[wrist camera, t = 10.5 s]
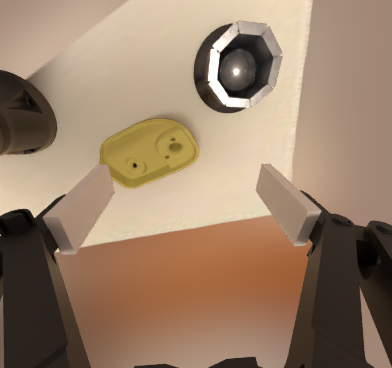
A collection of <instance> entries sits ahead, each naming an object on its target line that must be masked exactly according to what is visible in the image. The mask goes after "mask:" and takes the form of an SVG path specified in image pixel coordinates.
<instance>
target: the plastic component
mask: <svg viewBox="0 0 392 368" xmlns="http://www.w3.org/2000/svg"><path fill="white" fill-rule="evenodd" d="M166 156H169V157H166ZM198 156H199V148H198V146H197V144H196V142H195V140H194V139H193V137H192V135H191V134H190V132H189V131H188V130H187V128H186V127H185V126H183V125H182V124H180V123H178V122H176V121H173V120H169V119H151V120H146V121H143V122H140V123H138V124H135V125H133V126H132V127H130V128H128V129H126V130H124V131H122V132H120V133H118V134H116V135H114V136H112V137H110V138H108V139H107V140H106V141H105V142H104V143H103V145H102V146H101V149H100V164H99V165H108V167H109V171H110V176H111V179H113V180H114V181H116V182H117V183H119V184H120V185H122V186H123V187H126V188H137V187H140V186H142V185H145V184H147V183H150V182H152V181H155V180H157V179H160V178H162V177H165V176H167V175H170V174H172V173H175V172H177V171H179V170H182V169H184V168H186V167H188V166H190V165H191V164H193V163H194V162H195V161H196V160H197V158H198ZM134 163H136V164H137V167H136V168H135V167H134Z"/></svg>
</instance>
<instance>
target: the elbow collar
mask: <svg viewBox="0 0 392 368" xmlns="http://www.w3.org/2000/svg"><path fill="white" fill-rule="evenodd" d="M266 25H267V24H264V23H255V22H246V21H238V22H237V23H236V22H235V23H234V24H233V25H232V26H231V27H230V28H229V29H228V30H227V31H226V32H225V33H224V34H223V35H222V36H221V37H220V38H219V40H218V41H217V42H216V43H215V44H214V45H213V46H212V48H211V49H210V51H209V53H208V55H207V57H206V59H205V70H204V83H205V84H204V85H205V87H206V88H207V89H208V91H209V92H210V94H211V95H212V96H213V98H214V99H215V100H216V101H217V102H219V103H221V104H223V105H225V106H230V107H243V108H250V107H253V106H254V105H255V104H256V103H258V102H259V101H260V100H261V99H262V98H264V97H265V96H266V95H267V94H268V93H270V92H271V91H272V90H273V88H272V87H275V85H276V81H277V77H278V73H279V69H280V65H281V61H282V57H283V56H279V55H280V54H282V51H281V49H280V47H279V45H278V43H277V41H276V39H275V37H274V34H273V32H272V30H271V28H270V26H268V27H267V28H266ZM225 47H230V48H240V49H244V50H246V51H248V52H249V53H250V54H251V55H252V56H253V58H254V61H255V74H254V77H253V79H252V81H251V82H250V84H249V85H248V86H247V87H246V88H245V89H244V90H243V91H241V92H240V93H239V94H238V95H237V96H236V97H233V96H228V95H227V94H226V92H225V91H224V89H223V88H222V86H221V85H220V83H219V82H218V81H217V72H218V63H219V54H220V52H221V51H222V50H223V49H224V48H225Z"/></svg>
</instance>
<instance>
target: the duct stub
mask: <svg viewBox="0 0 392 368" xmlns="http://www.w3.org/2000/svg"><path fill="white" fill-rule="evenodd" d="M232 25H233V24H228V25H224V26H222V27H220V28H218V29H216V30H215V31H213V32H212V33H211V34H210V35H209V36H208V37H207V38H206V39H205V41H204V42H203V43H202V45H201V47H200V49H199V51H198V53H197V56H196V60H195V65H194V81H195V85H196V89H197V91H198V94H199V95H200V97H201V99H202V100H203V101H204V102H205V103H206V104H207V105H208V106H209V107H210V108H212V109H213V110H216V111H218V112H222V113H234V112H238V111H241V110H243V109H245V108H243V107H230V106H225V105H223V104H221V103H219V102H217V101H216V100H215V99H214V98H213V96H212V95H211V94H210V92H209V91H208V89H207V88H206V87H205V85H204V84H205V83H204V70H205V59H206V57H207V55H208V53H209V51H210V49H211V48H212V46H213V45H214V44H215V43H216V42H217V41H218V40H219V38H220V37H221V36H222V35H223V34H224V33H225V32H226V31H227V30H228V29H229V28H230V27H231V26H232ZM254 74H255V61H254V58H253V56H252V55H251V54H250V53H249V52H248V51H246V50H244V49H240V48H230V47H225V48H224V49H223V50H222V51H221V52H220V54H219V63H218V72H217V81H218V82H219V83H220V85H221V86H222V88H223V89H224V91H225V92H226V94H227V95H228V96H233V97H236V96H237V95H238V94H239V93H240V92H241V91H243V90H244V89H245V88H246V87H247V86H248V85H249V84H250V82H251V81H252V79H253V77H254Z"/></svg>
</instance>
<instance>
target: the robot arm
mask: <svg viewBox="0 0 392 368" xmlns="http://www.w3.org/2000/svg"><path fill="white" fill-rule="evenodd" d="M56 129H57V127H56V120H55V116H54V113H53V111H52V109H51V107H50V105H49V104H48V102H47V101H46V99H45V98H44V97H43V95H42V94H41V93H40V92H39V91H38V90H37V89H36V88H35V87H34V86H33V85H31V84H30V83H29V82H27V81H26V80H24V79H23V78H21V77H19V76H17V75H15V74H13V73H10V72H7V71H2V70H0V155H18V154H31V153H35V152H38V151H40V150H42V149H45V148H46V147H48V146H49V145H50V144H51V143H52V142H53V140H54V138H55V136H56ZM256 192H257V193H258V195H259V196H260V198H261V199H262V200H263V202H264V203H265V205H266V206H267V208H268V209H269V211H270V212H271V214H272V215H273V216H274V218H275V219H276V221H277V222H278V224H279V225H280V227H281V228H282V230H283V231H284V233H285V234H286V235H287V237H288V238H289V240H290V241H291V243H292V244H293V246H305V245H306V243H307V241H308V239H310V240H311V242H312V243H313V244H312V246H311V248H310V250H309V252H308V254H307V256H308V257H309V258H308V263H307V268H306V273H305V278H304V282H303V287H302V292H301V297H300V301H299V306H298V311H297V315H296V320H295V326H294V330H293V335H292V339H291V344H290V349H289V354H288V358H287V361H286V364H285V367H284V368H374V367H373V366H371V365H370V364H368V363H367V361H366V359H365V352H364V339H363V327H362V313H361V300H360V288H361V291H362V293H363V296H364V298H365V301H366V303H367V306H368V308H369V310H370V313H371V316H372V318H373V321H374V323H375V326H376V328H377V331H378V333H379V336H380V338H381V341H382V343H383V346H384V348H385V351H386V353H387V356H388V358H389V361H390V363H391V366H392V226H391V225H389V224H387V223H384V222H380V221H370V222H369V223H368V225H367V227H363V226H358V225H354V223H353V222H352V221H351V220H349V219H347V218H346V217H343V216H341V215H337V214H330V213H329V212H328V211H327V210H326V209H325V208H323V207H322V206H321V205H320V204H319V203H317V201H315V200H314V199H313V198H312V197H311V196H310V195H309V194H307V193H305V192H303V191H301V190H298V189H297V188H296V187H295V186H294V185H293V184H292V183H291V182H289V181H288V180H287V179H286V178H285V177H284V176H283V175H282V174H281V173H280V172H278V171H277V170H276V169H275V168H274V167H273V166H272V165H271V164H262V165H261V169H260V174H259V178H258V183H257V187H256ZM114 193H115V192H114V188H113V184H112V180H111V176H110V171H109V167H108V165H97V166H96V167H95V168H94V169H93V170H92V171H91V172H90V173H89V174H88V175H87V176H86V177H85V178H84V179H83V180H81V181H80V182H79V183H78V184H77V185H76V186H75V187H74V188H73V189H72V190H71V191H70V192H69V193H68V194H64V195H62V196H61V197H59V198H57V199H56V200H54V201H53V202H52V203H51V205H49V206H48V207H47V208H46V209H44V210H43V211H42V212H41V213H40V214H39V215H38V216H37V217H36V218H34V217H33V215H32V213H31V212H30V211H29V210H28V209H18V210H14V211H10V212H8V213H5V214H3V215H1V216H0V234H1V236H0V300H1V297H2V294H3V312H4V313H3V315H4V368H91V367H90V364H89V360H88V357H87V354H86V351H85V348H84V344H83V342H82V338H81V335H80V332H79V329H78V325H77V322H76V319H75V316H74V313H73V310H72V307H71V303H70V301H69V297H68V294H67V291H66V288H65V285H64V281H63V278H62V275H61V272H60V269H59V266H58V262H57V259H56V257H55V255H54V252H55V251H56V250H57V248H59V250H60V252H61V254H62V255H66V254H76V253H77V251H78V250H79V248H80V247H81V245H82V244H83V242H84V240H85V239H86V237H87V236H88V234H89V232H90V231H91V229H92V228H93V226H94V225H95V223H96V221H97V220H98V218H99V217H100V215H101V214H102V212H103V210H104V209H105V207H106V206H107V204H108V202H109V201H110V199H111V198H112V196H113V195H114ZM359 286H360V288H359ZM134 368H177V367H174V366H171V365H167V364H157V365H145V366H135V367H134ZM209 368H262V367H259V366H258V365H257V361H256V358H255V357H246V358H233V359H226V360H224V361H221V362H219V363H218V364H215V365H213V366H211V367H209Z"/></svg>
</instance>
